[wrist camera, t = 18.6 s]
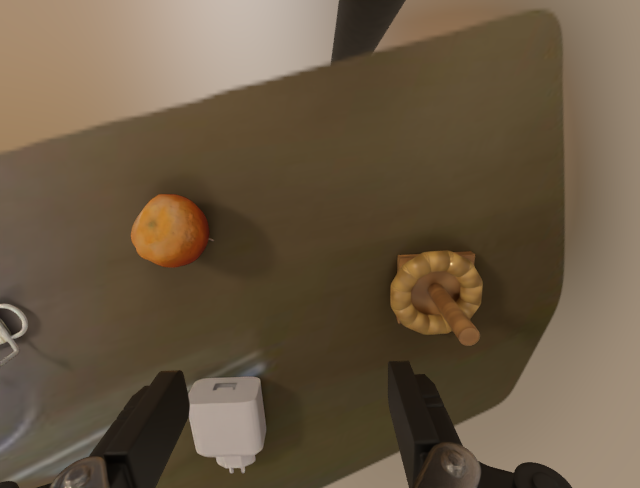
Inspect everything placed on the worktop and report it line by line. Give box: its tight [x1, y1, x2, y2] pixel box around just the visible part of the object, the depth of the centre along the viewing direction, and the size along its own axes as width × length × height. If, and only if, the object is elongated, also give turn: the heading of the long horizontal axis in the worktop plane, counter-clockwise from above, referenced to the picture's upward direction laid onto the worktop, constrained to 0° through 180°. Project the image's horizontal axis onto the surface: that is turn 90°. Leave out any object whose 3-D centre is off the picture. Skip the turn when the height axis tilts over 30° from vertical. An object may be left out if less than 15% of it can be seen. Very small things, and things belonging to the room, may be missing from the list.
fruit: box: [131, 194, 214, 267], centre depth 37 cm, size 8×8×8 cm
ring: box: [390, 250, 483, 335], centre depth 40 cm, size 11×11×2 cm
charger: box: [188, 377, 266, 473], centre depth 47 cm, size 5×9×15 cm
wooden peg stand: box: [397, 251, 480, 346], centre depth 37 cm, size 9×9×11 cm
